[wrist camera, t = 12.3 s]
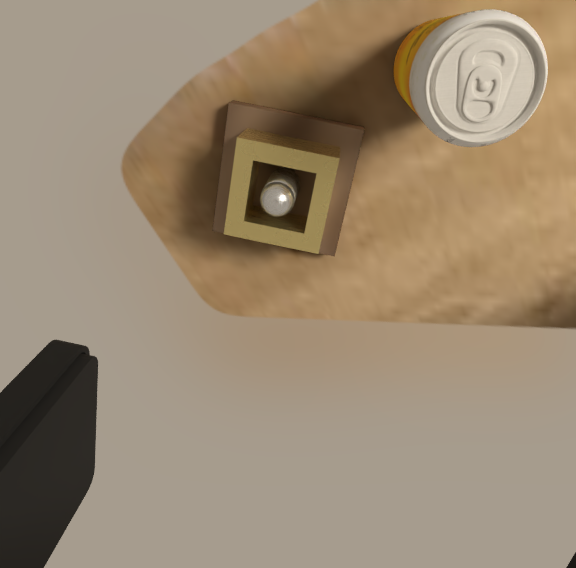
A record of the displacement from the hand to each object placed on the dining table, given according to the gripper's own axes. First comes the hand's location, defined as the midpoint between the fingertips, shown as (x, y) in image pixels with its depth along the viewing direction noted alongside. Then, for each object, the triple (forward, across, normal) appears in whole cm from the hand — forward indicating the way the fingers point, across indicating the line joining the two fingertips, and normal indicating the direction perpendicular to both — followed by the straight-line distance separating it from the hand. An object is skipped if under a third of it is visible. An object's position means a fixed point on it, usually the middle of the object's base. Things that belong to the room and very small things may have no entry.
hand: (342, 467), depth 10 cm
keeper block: (+34, +4, +4) cm, 35 cm away
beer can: (+34, -5, -6) cm, 35 cm away
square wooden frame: (+33, +4, +4) cm, 33 cm away
